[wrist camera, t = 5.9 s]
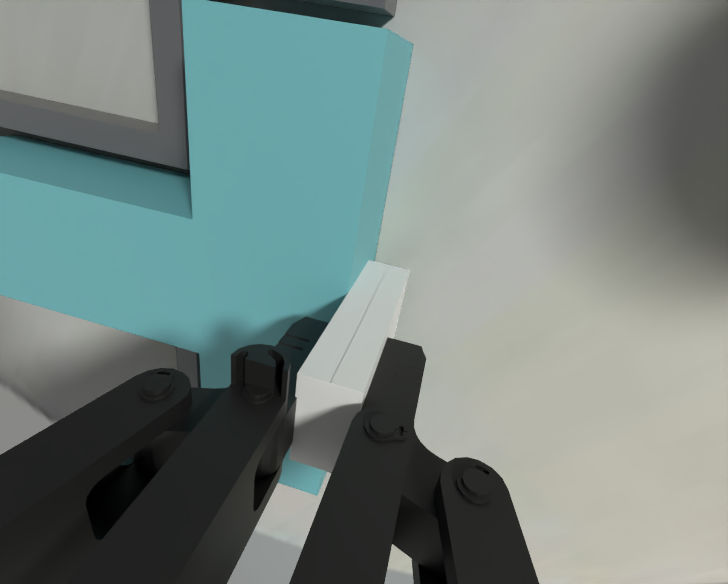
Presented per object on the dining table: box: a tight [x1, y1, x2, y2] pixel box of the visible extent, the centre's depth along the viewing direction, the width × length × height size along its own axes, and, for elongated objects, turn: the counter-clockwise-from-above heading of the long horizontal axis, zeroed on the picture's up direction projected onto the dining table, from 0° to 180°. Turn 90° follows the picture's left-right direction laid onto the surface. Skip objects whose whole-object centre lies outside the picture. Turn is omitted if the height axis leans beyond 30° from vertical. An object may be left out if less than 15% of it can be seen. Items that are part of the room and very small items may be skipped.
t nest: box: [0, 0, 397, 388], centre depth 17 cm, size 18×19×2 cm
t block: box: [0, 0, 413, 495], centre depth 16 cm, size 16×16×4 cm
